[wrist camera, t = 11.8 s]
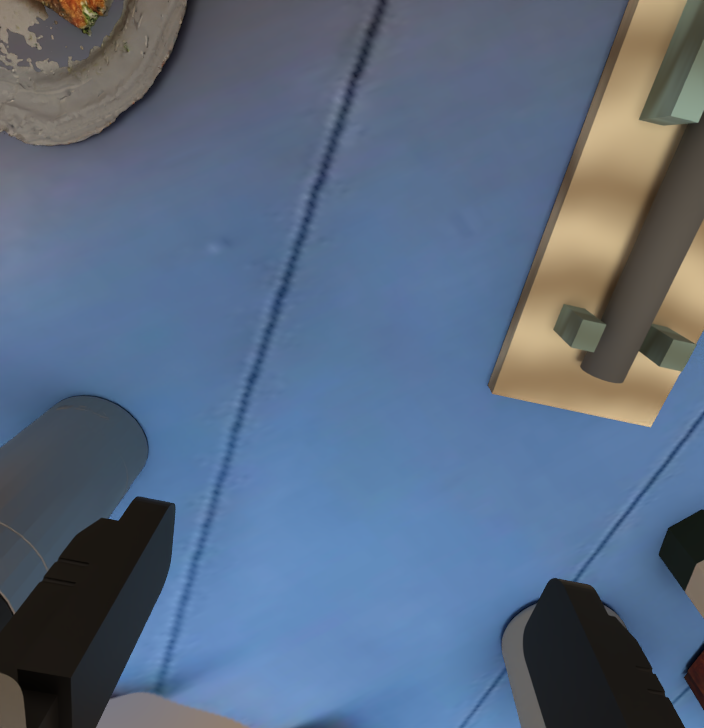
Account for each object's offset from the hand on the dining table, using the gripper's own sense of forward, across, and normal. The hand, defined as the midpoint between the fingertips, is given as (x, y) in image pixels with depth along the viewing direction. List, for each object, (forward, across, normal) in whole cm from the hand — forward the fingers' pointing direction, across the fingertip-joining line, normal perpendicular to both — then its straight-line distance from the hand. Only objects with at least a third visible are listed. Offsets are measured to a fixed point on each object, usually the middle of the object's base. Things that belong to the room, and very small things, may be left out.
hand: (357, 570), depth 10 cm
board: (+28, -18, -8) cm, 34 cm away
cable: (+26, -18, -8) cm, 33 cm away
